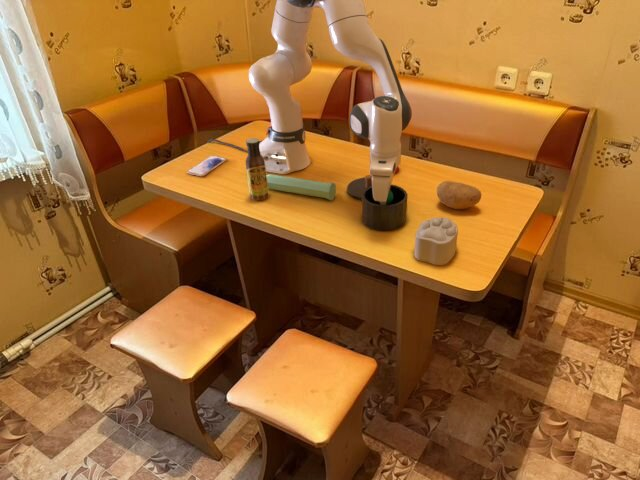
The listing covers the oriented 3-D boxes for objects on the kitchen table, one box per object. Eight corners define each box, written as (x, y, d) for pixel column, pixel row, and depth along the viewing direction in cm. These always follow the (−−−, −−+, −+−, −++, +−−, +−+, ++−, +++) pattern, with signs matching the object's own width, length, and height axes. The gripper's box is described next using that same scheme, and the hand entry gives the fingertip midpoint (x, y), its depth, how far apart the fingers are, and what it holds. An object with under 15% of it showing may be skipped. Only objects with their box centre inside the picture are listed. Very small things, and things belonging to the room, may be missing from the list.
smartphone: (226, 158, 187) (202, 175, 176) (227, 160, 188) (202, 177, 177) (211, 154, 189) (186, 171, 179) (211, 157, 190) (186, 173, 179)
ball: (375, 207, 148) (375, 192, 145) (377, 199, 152) (378, 184, 149) (391, 209, 148) (392, 194, 145) (394, 200, 151) (394, 186, 148)
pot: (358, 229, 149) (357, 204, 144) (366, 205, 160) (366, 182, 154) (403, 233, 147) (404, 208, 142) (408, 209, 157) (409, 185, 152)
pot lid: (343, 199, 163) (342, 185, 160) (351, 178, 174) (351, 165, 171) (387, 203, 161) (387, 188, 158) (393, 181, 172) (394, 168, 169)
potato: (475, 218, 152) (479, 195, 147) (431, 209, 157) (433, 187, 152) (482, 203, 159) (486, 181, 154) (440, 195, 164) (442, 173, 159)
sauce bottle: (253, 203, 162) (243, 146, 150) (248, 194, 167) (238, 138, 154) (272, 198, 164) (264, 142, 152) (266, 190, 169) (258, 134, 156)
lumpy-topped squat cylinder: (410, 257, 137) (411, 231, 132) (427, 234, 146) (430, 208, 141) (445, 267, 133) (448, 241, 128) (461, 243, 142) (465, 217, 137)
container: (261, 172, 166) (329, 183, 158) (270, 171, 171) (336, 182, 164) (260, 190, 167) (327, 201, 160) (269, 188, 173) (335, 199, 165)
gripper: (380, 141, 149) (379, 182, 157) (368, 172, 133) (368, 216, 142) (400, 142, 148) (399, 183, 156) (391, 173, 132) (390, 217, 141)
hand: (384, 199), depth 149 cm, fingers closed on ball, 5 cm apart
